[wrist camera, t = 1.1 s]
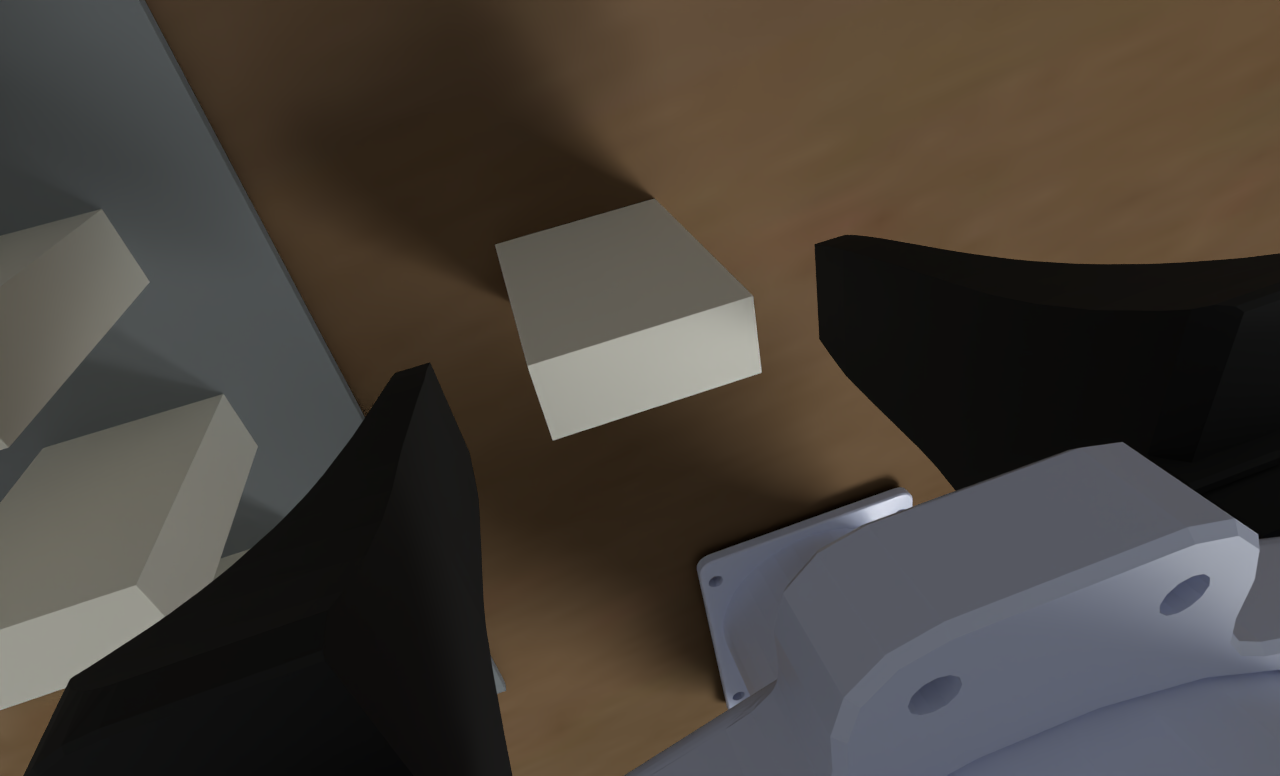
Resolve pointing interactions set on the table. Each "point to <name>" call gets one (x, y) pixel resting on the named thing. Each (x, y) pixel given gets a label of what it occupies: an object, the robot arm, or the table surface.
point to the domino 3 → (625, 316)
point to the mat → (162, 253)
